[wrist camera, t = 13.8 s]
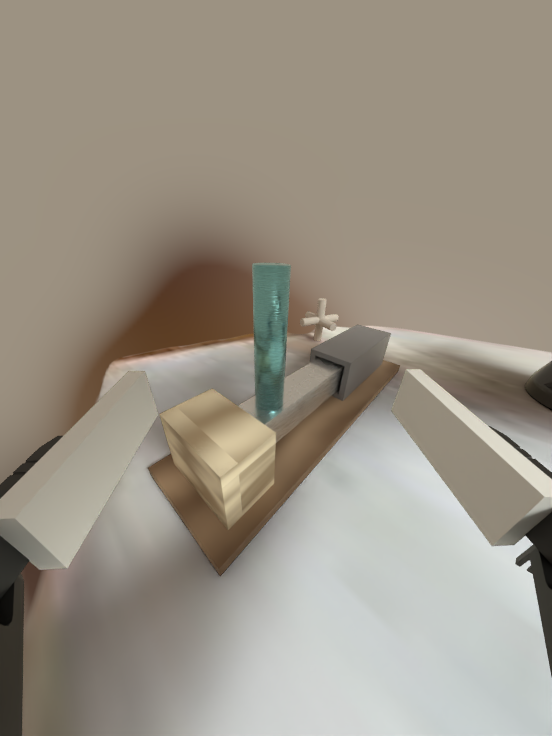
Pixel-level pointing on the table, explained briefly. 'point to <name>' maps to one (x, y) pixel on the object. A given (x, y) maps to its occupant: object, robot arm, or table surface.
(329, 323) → the pipe connector
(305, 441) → the base board
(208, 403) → the socket block
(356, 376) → the outer sleeve
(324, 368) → the bar with teal cylinder
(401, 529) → the table surface
